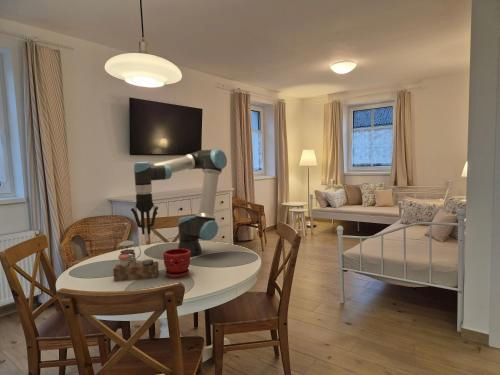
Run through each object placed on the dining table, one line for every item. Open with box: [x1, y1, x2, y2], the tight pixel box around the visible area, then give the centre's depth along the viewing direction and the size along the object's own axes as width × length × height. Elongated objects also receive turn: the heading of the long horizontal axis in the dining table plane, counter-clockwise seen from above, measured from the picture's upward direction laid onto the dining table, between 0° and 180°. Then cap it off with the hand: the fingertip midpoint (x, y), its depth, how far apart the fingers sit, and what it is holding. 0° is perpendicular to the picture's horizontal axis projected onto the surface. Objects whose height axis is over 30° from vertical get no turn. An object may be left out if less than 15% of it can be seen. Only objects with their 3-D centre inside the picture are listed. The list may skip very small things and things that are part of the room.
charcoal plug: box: [141, 258, 154, 266], centre depth 159 cm, size 5×5×7 cm
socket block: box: [112, 261, 159, 282], centre depth 158 cm, size 20×7×6 cm, turn 100°
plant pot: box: [163, 248, 192, 278], centre depth 160 cm, size 13×13×12 cm
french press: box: [118, 222, 142, 264], centre depth 171 cm, size 10×12×25 cm
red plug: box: [118, 254, 131, 267], centre depth 157 cm, size 5×5×7 cm
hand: (146, 240), depth 158 cm, fingers closed
